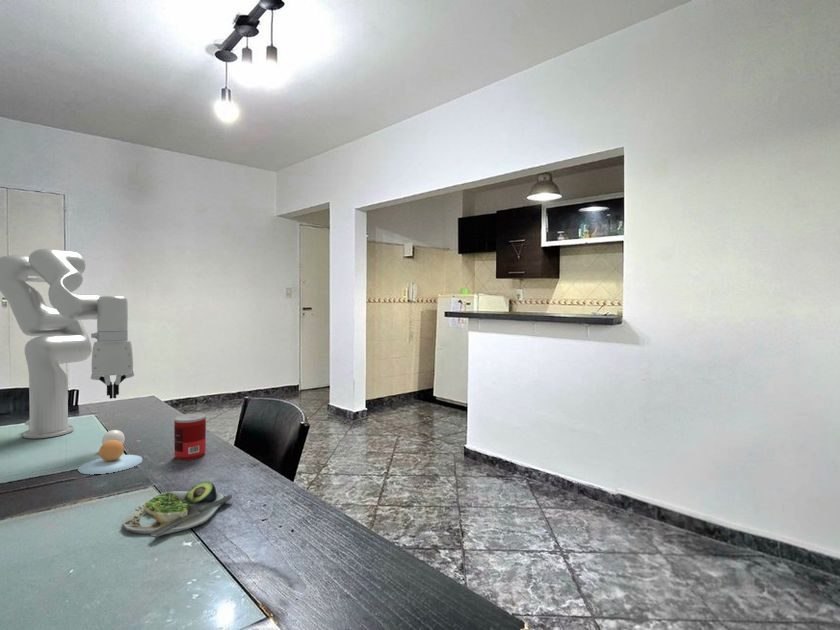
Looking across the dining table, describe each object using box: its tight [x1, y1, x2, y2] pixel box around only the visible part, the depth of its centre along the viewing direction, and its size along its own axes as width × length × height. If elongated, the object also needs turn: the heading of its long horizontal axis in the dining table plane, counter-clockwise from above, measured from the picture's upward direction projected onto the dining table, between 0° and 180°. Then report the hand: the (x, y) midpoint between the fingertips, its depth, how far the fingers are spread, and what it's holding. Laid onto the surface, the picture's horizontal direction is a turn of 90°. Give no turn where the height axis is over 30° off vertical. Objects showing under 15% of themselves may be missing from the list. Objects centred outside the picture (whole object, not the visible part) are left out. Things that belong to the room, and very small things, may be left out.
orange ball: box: [98, 440, 125, 461], centre depth 120 cm, size 6×6×6 cm
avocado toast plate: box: [121, 481, 233, 538], centre depth 90 cm, size 19×18×5 cm
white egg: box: [101, 429, 126, 445], centre depth 129 cm, size 6×6×6 cm
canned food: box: [173, 412, 207, 461], centre depth 125 cm, size 8×8×11 cm
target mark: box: [77, 454, 143, 476], centre depth 117 cm, size 14×14×1 cm
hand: (112, 397), depth 133 cm, fingers closed
